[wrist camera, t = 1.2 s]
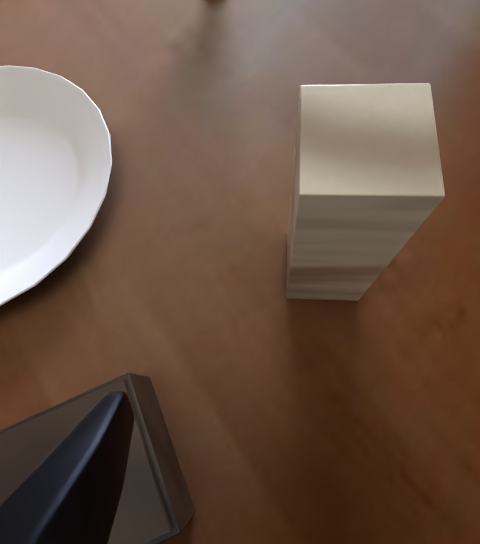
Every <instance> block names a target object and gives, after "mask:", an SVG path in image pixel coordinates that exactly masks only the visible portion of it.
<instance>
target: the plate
mask: <svg viewBox="0 0 480 544" xmlns="http://www.w3.org/2000/svg"><path fill="white" fill-rule="evenodd" d="M111 168H112V154H111V143H110V134H109V131H108V129H107V126H106V124H105V122H104V119H103V117H102V114H101V112H100V110H99V108H98V107H97V106H96V105H95V104H94V102H93V101H92V100H91V99H90V98H89V97H88V95H87V94H86V93H85V92H84V91H83V90H82V89H81V88H79V87H77V86H76V85H74V84H73V83H71V82H70V81H68V80H66V79H65V78H63V77H62V76H60V75H56V74H53V73H50V72H47V71H43V70H40V69H37V68H30V67H17V66H0V306H1V305H3V304H4V303H6V302H8V301H10V300H11V299H13V298H15V297H17V296H18V295H20V294H22V293H24V292H25V291H27V290H29V289H31V288H33V287H34V286H36V285H37V284H38V283H40V282H41V281H42V280H43V279H44V278H45V277H47V276H48V275H49V274H50V273H51V272H52V271H53V270H55V269H56V268H57V267H58V266H59V265H60V264H62V263H63V262H64V261H65V260H66V259H67V258H68V257H69V256H70V254H71V253H72V252H73V250H74V249H75V248H76V246H77V245H78V244H79V243H80V241H81V240H82V239H83V237H84V236H85V235H86V233H87V232H88V231H89V229H90V228H91V226H92V224H93V222H94V220H95V218H96V216H97V213H98V211H99V209H100V207H101V205H102V203H103V200H104V198H105V196H106V193H107V188H108V183H109V178H110V173H111Z"/></svg>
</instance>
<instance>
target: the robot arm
mask: <svg viewBox="0 0 480 544" xmlns="http://www.w3.org/2000/svg"><path fill="white" fill-rule="evenodd" d="M133 426H134V412H133V409H132V406H131V403H130V400H129V398H128V395H127V393H126V392H124V391H112V392H108V393H107V394H106V395H104V397H103V398H102V399H101V400H100V401H99V402H98V403H97V404H96V405H95V406H94V407H93V408H92V409H91V410H90V411H89V412H88V413H87V415H86V416H85V417H84V418H83V419H82V420H81V421H80V422H79V423H78V424H77V425H76V426H75V427H74V428H73V429H72V430H71V431H70V432H69V434H68V435H67V436H66V437H65V438H64V439H63V440H62V441H61V442H60V443H59V444H58V445H57V446H56V447H55V448H54V449H53V450H52V452H51V453H50V454H49V455H48V456H47V457H46V458H45V459H44V460H43V461H42V462H41V463H40V464H39V465H38V466H37V467H36V468H35V470H34V471H33V472H32V473H31V474H30V475H29V476H28V477H27V478H26V479H25V480H24V481H23V482H22V483H21V484H20V485H19V486H18V487H17V489H16V490H15V491H14V492H13V493H12V494H11V495H10V496H9V497H8V498H7V499H6V500H5V501H4V502H3V503H2V504H1V505H0V544H108V541H109V537H110V533H111V530H112V526H113V523H114V519H115V515H116V512H117V508H118V505H119V501H120V497H121V493H122V489H123V485H124V479H125V474H126V468H127V462H128V456H129V450H130V444H131V438H132V432H133Z"/></svg>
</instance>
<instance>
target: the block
mask: <svg viewBox="0 0 480 544" xmlns="http://www.w3.org/2000/svg"><path fill="white" fill-rule="evenodd" d="M444 196H445V192H444V185H443V177H442V169H441V162H440V154H439V146H438V139H437V131H436V123H435V116H434V108H433V100H432V93H431V85H430V83H413V84H356V85H302V86H301V87H300V95H299V106H298V118H297V130H296V141H295V153H294V165H293V176H292V188H291V199H290V211H289V223H288V234H287V282H286V298H295V299H322V300H350V301H359V299H360V298H361V297H362V296H363V295H364V293H365V292H366V291H367V290H368V288H369V287H370V286H371V285H372V284H373V282H374V281H375V280H376V279H377V278H378V276H379V275H380V274H381V273H382V272H383V270H384V269H385V268H386V267H387V266H388V264H389V263H390V262H391V261H392V259H393V258H394V257H395V256H396V255H397V253H398V252H399V251H400V250H401V249H402V247H403V246H404V245H405V244H406V243H407V241H408V240H409V239H410V238H411V237H412V235H413V234H414V233H415V232H416V230H417V229H418V228H419V227H420V226H421V224H422V223H423V222H424V221H425V220H426V218H427V217H428V216H429V215H430V214H431V212H432V211H433V210H434V209H435V207H436V206H437V205H438V204H439V203H440V201H441V200H442V199H443V198H444Z"/></svg>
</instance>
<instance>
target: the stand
mask: <svg viewBox="0 0 480 544" xmlns="http://www.w3.org/2000/svg"><path fill="white" fill-rule="evenodd" d="M112 391H124V392H126V393H127V395H128V398H129V400H130V403H131V406H132V409H133V412H134V426H133V432H132V438H131V444H130V450H129V456H128V462H127V468H126V474H125V479H124V485H123V489H122V493H121V497H120V501H119V505H118V508H117V512H116V515H115V519H114V523H113V526H112V530H111V533H110V537H109V541H108V544H160V543H162V542H164V541H166V540H168V539H170V538H172V537H174V536H176V535H178V534H180V533H181V531H182V530H183V529H184V527H185V526H186V525H187V523H188V522H189V520H190V519H191V518H192V516H193V515H194V513H195V511H194V508H193V505H192V502H191V499H190V496H189V493H188V490H187V487H186V484H185V481H184V478H183V475H182V472H181V469H180V466H179V463H178V460H177V457H176V455H175V452H174V449H173V446H172V443H171V440H170V437H169V434H168V431H167V428H166V425H165V422H164V419H163V416H162V413H161V410H160V407H159V404H158V401H157V398H156V395H155V392H154V389H153V386H152V383H151V380H150V378H149V377H146V376H141V375H137V374H132V373H127V374H125V375H123V376H120V377H118V378H116V379H114V380H112V381H109V382H107V383H105V384H103V385H100V386H98V387H96V388H94V389H91V390H89V391H87V392H85V393H83V394H80V395H78V396H76V397H74V398H71V399H69V400H67V401H65V402H63V403H60V404H58V405H56V406H54V407H51V408H49V409H47V410H45V411H42V412H40V413H38V414H36V415H34V416H31V417H29V418H27V419H25V420H22V421H20V422H18V423H16V424H14V425H11V426H9V427H7V428H5V429H2V430H0V505H1V504H2V503H3V502H4V501H5V500H6V499H7V498H8V497H9V496H10V495H11V494H12V493H13V492H14V491H15V490H16V489H17V487H18V486H19V485H20V484H21V483H22V482H23V481H24V480H25V479H26V478H27V477H28V476H29V475H30V474H31V473H32V472H33V471H34V470H35V468H36V467H37V466H38V465H39V464H40V463H41V462H42V461H43V460H44V459H45V458H46V457H47V456H48V455H49V454H50V453H51V452H52V450H53V449H54V448H55V447H56V446H57V445H58V444H59V443H60V442H61V441H62V440H63V439H64V438H65V437H66V436H67V435H68V434H69V432H70V431H71V430H72V429H73V428H74V427H75V426H76V425H77V424H78V423H79V422H80V421H81V420H82V419H83V418H84V417H85V416H86V415H87V413H88V412H89V411H90V410H91V409H92V408H93V407H94V406H95V405H96V404H97V403H98V402H99V401H100V400H101V399H102V398H103V397H104V395H106V394H107V393H108V392H112Z"/></svg>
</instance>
